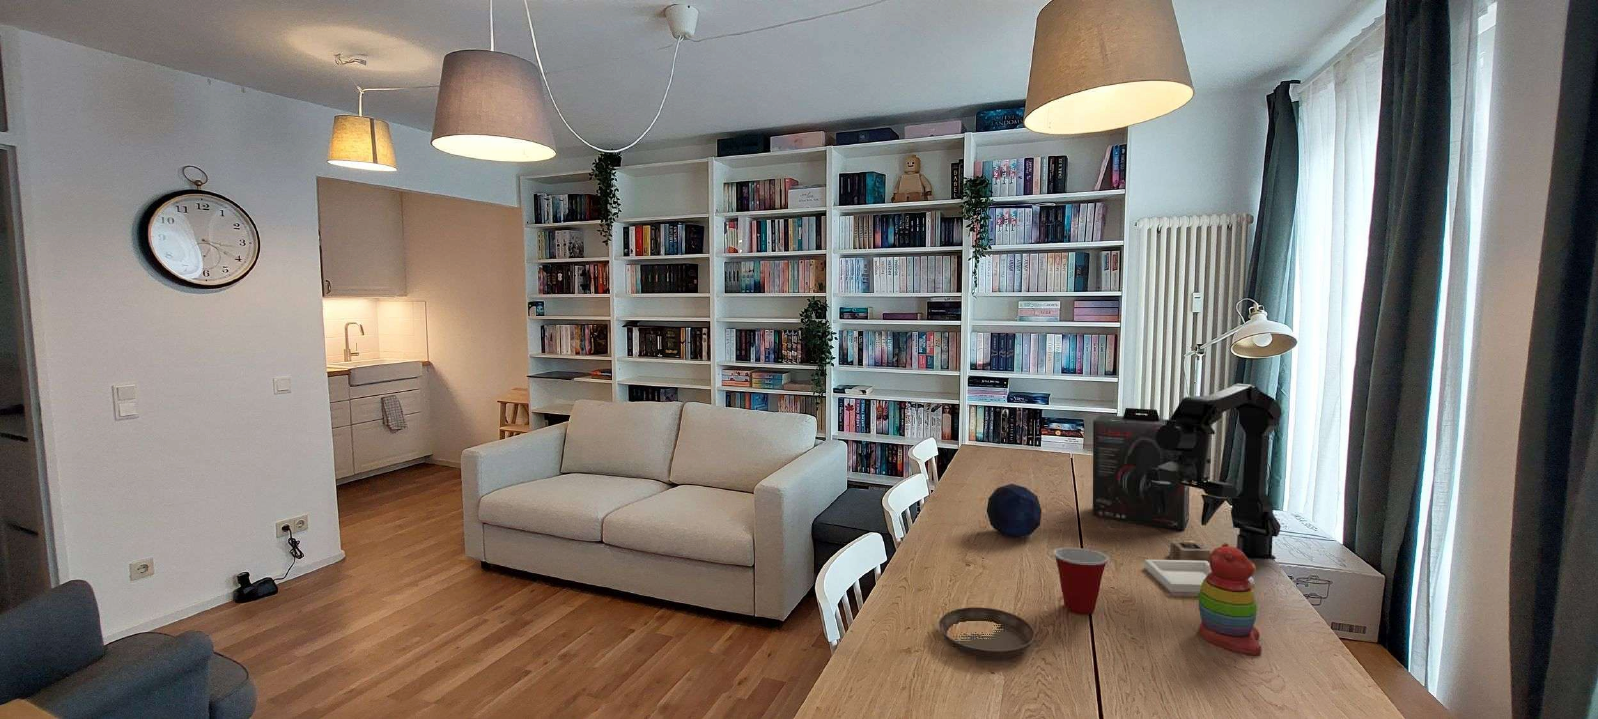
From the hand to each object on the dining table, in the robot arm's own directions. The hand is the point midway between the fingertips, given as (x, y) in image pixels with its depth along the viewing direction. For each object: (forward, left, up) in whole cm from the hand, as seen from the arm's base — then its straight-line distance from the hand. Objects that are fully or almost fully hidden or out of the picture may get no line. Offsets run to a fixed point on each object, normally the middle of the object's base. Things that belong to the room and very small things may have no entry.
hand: (1184, 519), depth 152 cm
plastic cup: (+28, +16, -14) cm, 36 cm away
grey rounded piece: (-7, -12, -14) cm, 20 cm away
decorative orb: (+32, -28, -15) cm, 45 cm away
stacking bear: (+4, +27, -15) cm, 31 cm away
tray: (-1, +1, -14) cm, 14 cm away
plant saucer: (+50, +31, -15) cm, 61 cm away
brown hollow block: (-7, -12, -14) cm, 19 cm away
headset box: (-8, -45, -15) cm, 48 cm away
